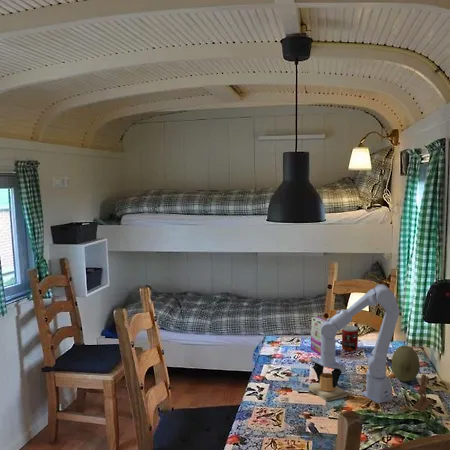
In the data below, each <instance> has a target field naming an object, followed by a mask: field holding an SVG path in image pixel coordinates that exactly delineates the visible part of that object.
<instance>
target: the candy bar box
mask: <svg viewBox="0 0 450 450" xmlns="http://www.w3.org/2000/svg"><path fill="white" fill-rule="evenodd" d="M325 321H327V319H324V318H322V317H320V316H317V317H316V316H315V317H314V316H313V317H311V327H310V328H311V330H310V331H311V332H310V334H311V335H310V350H312V351H313V352H315V353H316V354H318V355H319V356H320V357H321V335H322V333H321V325H322V323H323V322H325Z"/></svg>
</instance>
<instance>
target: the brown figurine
mask: <svg viewBox="0 0 450 450" xmlns="http://www.w3.org/2000/svg"><path fill="white" fill-rule="evenodd" d="M420 383H421V384H420V385H419V387H418V395H419V396H420V397H419V400H417V401H416V402H415V404H414V405H412V407H413V409H415V410H419V411H422V412H424V411H425V410H427V408H428V407H429V406H430V405H431V404H432V403H433V402H432V400H431V399H428V397H427V394H426V393H427V392H426V387H427V386H428V383H429V377H428V376H427V375H426V374H422V375H421V378H420Z"/></svg>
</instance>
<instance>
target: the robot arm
mask: <svg viewBox="0 0 450 450" xmlns="http://www.w3.org/2000/svg"><path fill="white" fill-rule="evenodd" d="M377 305H380V306H381V307H382V308H383V309H384V311H385V312H384V315H383V319H382V323H381V325H380V328H379V332H378V334H377V335H378V336H377V338H376V341H375V345H374V348H372V350H371V354H370V355H369V356H368V357H367V359H366V364H367V366H368V370H367V371H366V379H365V380H366V382H365V383H366V385H365V386H366V387H365V391H362V392H361V393H360V394H361V395H362V396H364V397H366V398H368V399H369V400H371V401H373V402H374V403H376V404H382V403H385V402H389V401H393V400H394V397H392V395H393V394H392V393H393V390H392V389H393V387H392V386H393V385H392V381H390V380H389V379H388V378H387V374H386V373H387V368H386V365H387V358H388V357H387V356H388V351H389V349H390V347H391V346H390V345H391V342H392V338H393V335H394V332H395V328H396V326H397V322H398V319H399V316H400V308H399V305H398V302H397V298H396V297H395V295H394V294H393V292H392V291H391V290H390V288H389V287H388V286H387V285H386V284H381V283H380V284H377V285H376V286H375V287H374V288H371V289H369V290H368V291H367V292H366V293H365V294H364V295H363V296H361V297H360V298H358V300H357V301H356V302H354V303H352V305H350V306H349V307H348V308H347V309H344V308H343V309H340V310H339V309H338V310H336V314H334V315H333V316H332V317H331V318H330V317H329V318H327V319H326V321H325V322H323V323H322V325H321V333H322V335H321V356H320V357H319V358H317V357H312V358H310V364H314V365H313V366H312V369H313V370H314V372H315V374H316V377H317V381H318V382H317V384H318V383H320V375H321V374H322V373H324V368H330V369H333V370H331V371H330V372H331V373H330V374H332V378H333V387H334V388H335V387H336V386H337V387H338V382H339V378H340V377H341V374H342V373H344V372H346V370H347V369H346V368H347V366H346V365H343V364H341V363H339V362H337V361H336V344H337V343H336V341H337V340H336V336H337V333H338V332H339V331H342V328H343V327H345V326H348V325H349V324H350V323H351V322H352V321H353V317H354V316H355V315H357V314H359V312H361V311H363V310H364V309H365V308H367V307H368V306H377Z"/></svg>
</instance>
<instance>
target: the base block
mask: <svg viewBox="0 0 450 450" xmlns="http://www.w3.org/2000/svg"><path fill="white" fill-rule="evenodd" d="M307 387H308V391H311V392H312V393H313V394H314V395H317V396H318V397H319V398H321V399H322V400H324V401H326V402H329V401H333V400H339V399H342V398H345V397H348V392H347V391H345V390H344V389H342V388H340V387H338V385H337V386H336V387H335V390H333V391H324V390H321V388H320V383H318V382H317V383H314V384H310V385H307Z"/></svg>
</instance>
